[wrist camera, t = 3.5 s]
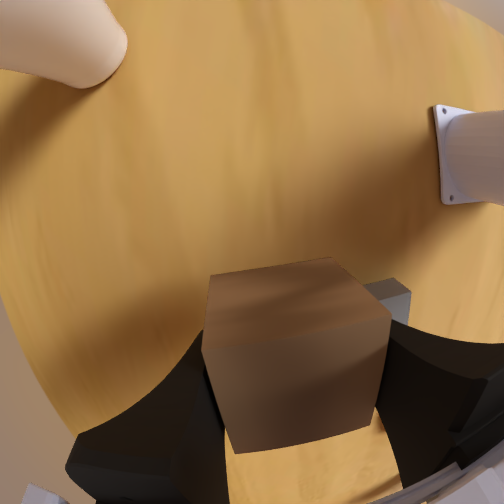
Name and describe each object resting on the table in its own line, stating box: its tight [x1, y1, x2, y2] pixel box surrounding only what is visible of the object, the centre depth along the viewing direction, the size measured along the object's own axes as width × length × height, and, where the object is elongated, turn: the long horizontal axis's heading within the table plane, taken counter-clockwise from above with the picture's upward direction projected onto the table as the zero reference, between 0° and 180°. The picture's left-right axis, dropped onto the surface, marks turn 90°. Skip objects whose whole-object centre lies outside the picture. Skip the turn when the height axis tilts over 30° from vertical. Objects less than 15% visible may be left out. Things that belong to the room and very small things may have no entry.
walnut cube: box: [201, 257, 392, 454], centre depth 10 cm, size 5×5×5 cm
